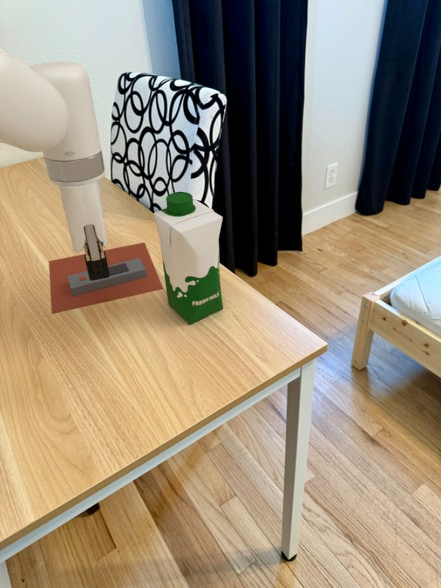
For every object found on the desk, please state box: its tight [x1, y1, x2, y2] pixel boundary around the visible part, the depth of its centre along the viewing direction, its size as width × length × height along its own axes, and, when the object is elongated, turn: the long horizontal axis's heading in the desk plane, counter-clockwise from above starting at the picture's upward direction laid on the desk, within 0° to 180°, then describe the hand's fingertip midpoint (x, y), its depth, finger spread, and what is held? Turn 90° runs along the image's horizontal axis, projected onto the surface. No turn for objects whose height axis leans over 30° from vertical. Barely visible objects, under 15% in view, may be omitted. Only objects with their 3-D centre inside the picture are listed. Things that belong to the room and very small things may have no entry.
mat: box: [48, 242, 164, 315], centre depth 84 cm, size 20×18×1 cm
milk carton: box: [153, 191, 224, 326], centre depth 69 cm, size 9×9×20 cm
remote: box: [68, 258, 146, 296], centre depth 82 cm, size 14×4×2 cm, turn 114°
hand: (99, 276), depth 69 cm, fingers closed
